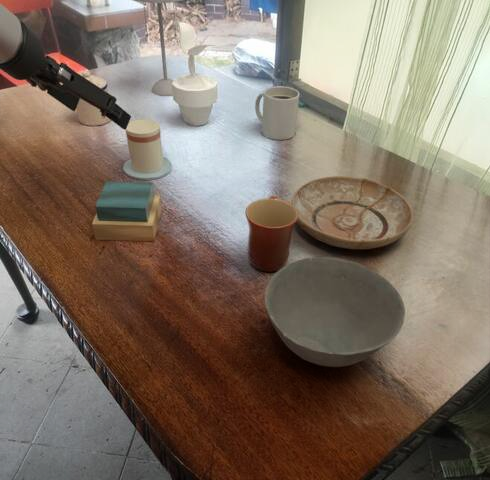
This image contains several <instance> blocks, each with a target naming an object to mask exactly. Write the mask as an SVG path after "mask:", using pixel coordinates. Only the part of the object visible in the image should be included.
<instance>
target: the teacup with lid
mask: <svg viewBox="0 0 490 480" xmlns="http://www.w3.org/2000/svg"><path fill="white" fill-rule="evenodd" d="M81 76H83V77H84V78H86V79H87V80H89V81H90V82H92V83H93V84H95V85H96V86H98V87H99V88H101V89H102V90H104V91H106V92H107V93H109V92H108V82H107V81H106V80H105V79H104V78H102V77H99V76H95V75H93V74H91V71H89V70H84V71H82V72H81ZM75 111H76V114H77V118H78V121H79V122H80V124H82V125H85V126H89V127H91V126H93V127H95V126H97V127H98V126H103V125H106V124H108V123H110V122H111V121H112V120H110V119H109V118H108V117H106V116H105V117H104V116H101V112H100V109H98V108H96V107H94V106H93V105H91V104H89V103H87V102H86V101H84V100H82V99H80V100H79V102H78V105H77V107H76V110H75Z"/></svg>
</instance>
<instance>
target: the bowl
mask: <svg viewBox="0 0 490 480" xmlns="http://www.w3.org/2000/svg"><path fill="white" fill-rule="evenodd" d="M264 307H265V310H266V313H267V315H268V318H269V320H270V323H271V324H272V326H273V328H274V330H275V332H276V333H277V335H278V336H279V338H280V340H282V342H283V343H284V344H285V346H286V347H287V348H288V349H289V350H290V351H291V352H293V353H294V354H295V355H296V356H298V357H299V358H301V359H302V360H304V361H306V362H308V363H311V364H313V365H314V364H315V365H316V366H321V367H328V368H329V367H330V368H341V367H347V366H352V365H355V364H358V363H360V362H362V361H364V360H366V359H368V358H369V357H371V356H373V355H374V354H376V353H377V352H378V351H379V350H381V349H383V348H384V347H386V346H387V345H388V344H390V343H391V342H392V341H393V340H394V339H395V338H396V337H397V336H398V335H399V333H400V332H401V329H402V327H403V326H404V322H405V317H406V307H405V303H404V300H403V299H402V297H401V293H399V292H398V290H397V289H396V287H394V285H393V284H392V283H391V282H390V281H389V280H387V279H386V278H385V277H383V275H381V274H379V273H378V272H376V271H374V270H373V269H371V268H369V267H368V266H365V265H363V264H362V263H358V262H356V261H351V260H348V259H345V258H339V257H333V256H332V257H330V256H329V257H328V256H315V257H306V258H302V259H297V260H295V261H293V262H290V263H288V264H286V265H285V266H284V267H283V268H281V269H279V270H277V271H275V273H274V274H273V275H272V277H271V278H270V280H268V283H267V284H266V288H265V291H264Z"/></svg>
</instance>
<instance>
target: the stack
mask: <svg viewBox="0 0 490 480" xmlns="http://www.w3.org/2000/svg"><path fill="white" fill-rule="evenodd" d="M94 208H95V212H96V213H95V215H94V218H93V220H92V223H91V227H92V230H93V234H94V238H95V240H97V241H127V242H128V241H129V242H130V241H131V242H155V241H156V237H157V232H158V229H159V225H160V220H161V215H162V213H163V205H162V196H161V193H155V189H154V182H146V181H145V182H144V181H143V182H139V181H114V180H113V181H111V180H106V181H105V183H104V185H103V188H102V190H101V192H100V194H99V197H98V199H97V201H96V204H95V206H94Z"/></svg>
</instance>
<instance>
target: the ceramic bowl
mask: <svg viewBox="0 0 490 480" xmlns="http://www.w3.org/2000/svg"><path fill="white" fill-rule="evenodd" d="M290 204H291V205H293V206H294V207H295V208H296V209H297V211H298V219H297V221H296V223H297V224H298V226H299V227H300V228H301V229H302V230H303V231H304V232H305V233H307V234H308V235H309V236H311V237H312V238H314V239H316V240H318V241H320V242H322V243H324V244H327V245H330V246H332V247H333V246H334V247H337V248H340V249H341V248H342V249H349V250H371V249H376V248H380V247H381V248H382V247H384V246H388V245H390V244H392V243H394V242H396V241H398V240H399V239H400V238H402V237H403V236H404V235H405V234H407V232H408V231H409V230H410V228H411V227H412V225H413V224H412V223H413V221H414V212H413V208H412V206H411V204H410V203H409V201H408V200H407V199H406V198H405V197H404V196H403V195H402V194H401V193H399V192H398V191H396V190H395V189H393V188H392V187H390V186H388V185H385V184H383V183H380V182H377V181H375V180H371V179H367V178H362V177H355V176H344V175H343V176H341V175H338V176H335V175H333V176H326V177H320V178H316V179H313V180H310V181H308V182H306V183H304V184H303V185H301V186H300V187H299V188H297V189H296V191H295V192H294V193H293V195H292V198H291V202H290Z"/></svg>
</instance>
